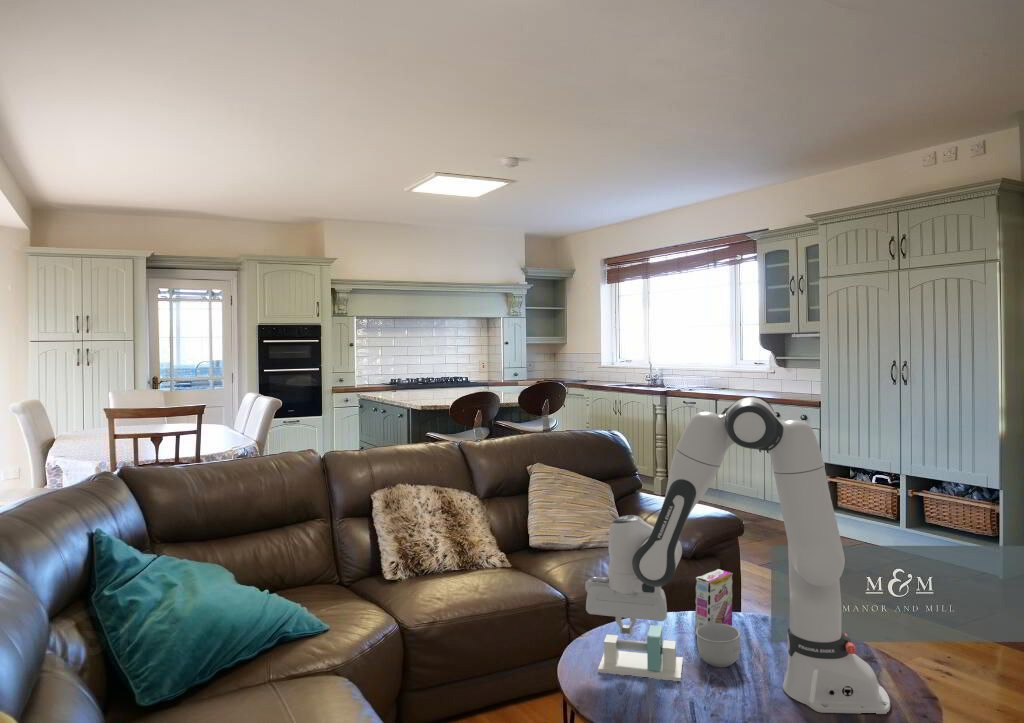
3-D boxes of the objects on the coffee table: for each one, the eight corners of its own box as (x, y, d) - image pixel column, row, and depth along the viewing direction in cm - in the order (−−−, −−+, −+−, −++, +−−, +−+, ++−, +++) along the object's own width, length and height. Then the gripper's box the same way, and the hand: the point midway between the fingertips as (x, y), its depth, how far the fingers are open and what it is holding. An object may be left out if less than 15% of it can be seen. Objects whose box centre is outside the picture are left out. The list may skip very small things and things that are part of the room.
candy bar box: (710, 641, 196) (709, 582, 195) (694, 635, 200) (694, 577, 199) (733, 629, 203) (733, 572, 203) (718, 624, 207) (718, 567, 206)
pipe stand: (683, 661, 185) (682, 635, 185) (680, 681, 175) (680, 654, 174) (605, 652, 191) (604, 628, 190) (598, 672, 180) (597, 646, 180)
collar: (662, 656, 185) (662, 626, 185) (659, 671, 177) (659, 639, 177) (650, 655, 186) (650, 625, 186) (647, 670, 178) (647, 638, 178)
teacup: (742, 673, 178) (742, 641, 178) (697, 670, 180) (697, 638, 180) (736, 648, 192) (736, 618, 192) (694, 645, 194) (694, 616, 194)
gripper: (583, 580, 183) (583, 633, 183) (665, 587, 177) (665, 643, 178) (587, 571, 189) (587, 623, 189) (667, 579, 183) (667, 632, 184)
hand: (626, 633), depth 183 cm, fingers closed
